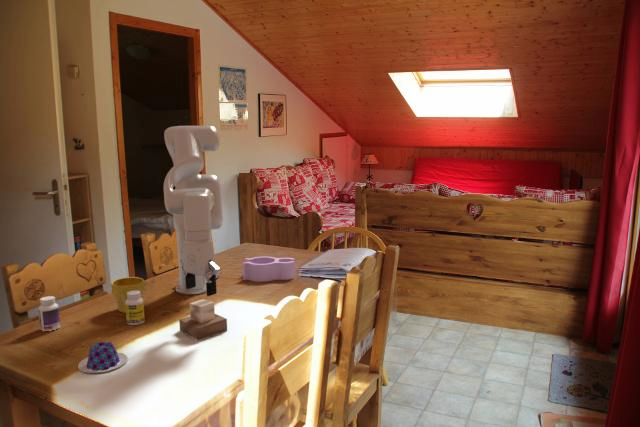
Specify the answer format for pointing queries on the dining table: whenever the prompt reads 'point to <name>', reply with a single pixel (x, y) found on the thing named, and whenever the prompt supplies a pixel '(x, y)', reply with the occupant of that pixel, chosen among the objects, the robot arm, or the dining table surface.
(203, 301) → the maple block
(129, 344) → the dining table surface
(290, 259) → the lavender double-well tray
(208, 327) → the walnut block
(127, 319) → the supplement bottle
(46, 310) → the pill bottle
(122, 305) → the plant pot
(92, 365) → the purple patterned hat
